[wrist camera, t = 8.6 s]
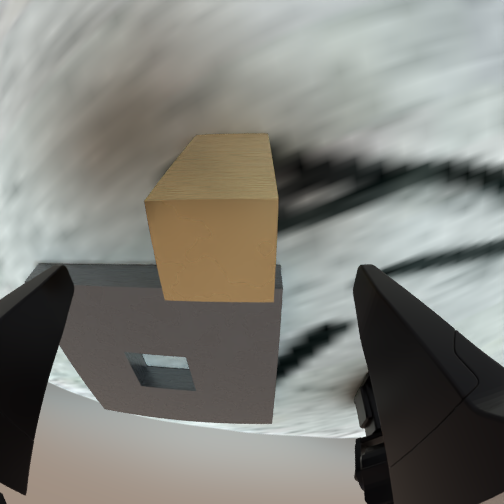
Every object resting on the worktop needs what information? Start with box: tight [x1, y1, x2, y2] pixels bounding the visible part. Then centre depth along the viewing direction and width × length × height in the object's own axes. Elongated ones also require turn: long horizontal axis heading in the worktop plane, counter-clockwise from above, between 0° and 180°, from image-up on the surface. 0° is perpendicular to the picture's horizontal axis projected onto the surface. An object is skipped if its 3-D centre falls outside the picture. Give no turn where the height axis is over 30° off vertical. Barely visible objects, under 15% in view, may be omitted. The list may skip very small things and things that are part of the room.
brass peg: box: [144, 133, 278, 302], centre depth 14 cm, size 4×4×9 cm
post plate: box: [25, 264, 283, 424], centre depth 26 cm, size 20×20×2 cm
